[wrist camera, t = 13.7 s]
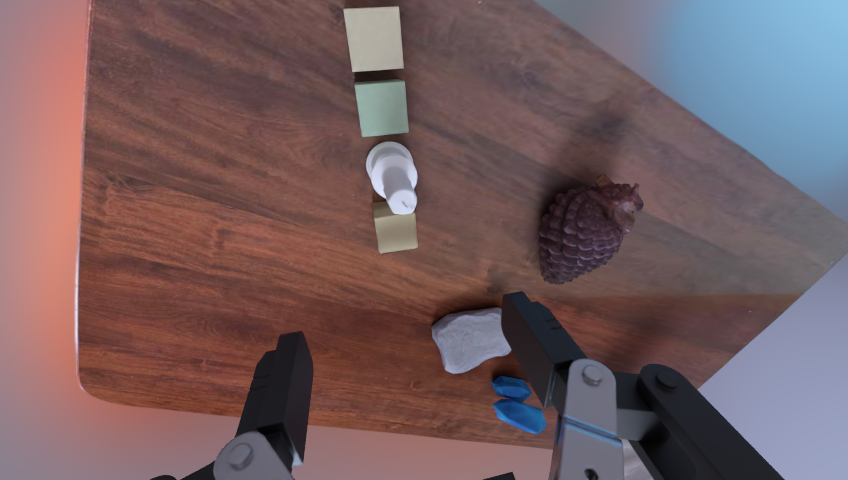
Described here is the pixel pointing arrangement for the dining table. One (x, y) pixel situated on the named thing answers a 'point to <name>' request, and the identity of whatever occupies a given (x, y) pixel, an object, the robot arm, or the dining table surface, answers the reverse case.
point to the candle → (393, 176)
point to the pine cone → (586, 228)
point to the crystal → (517, 405)
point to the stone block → (470, 338)
